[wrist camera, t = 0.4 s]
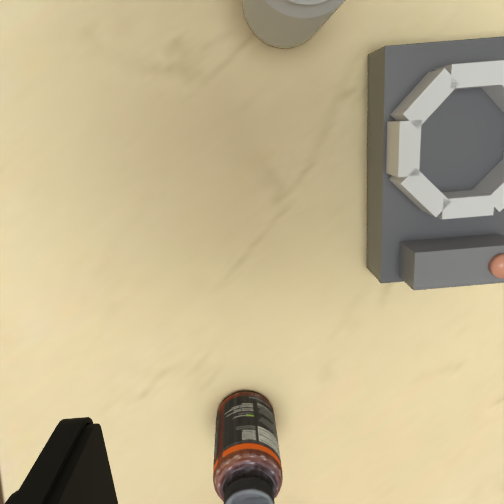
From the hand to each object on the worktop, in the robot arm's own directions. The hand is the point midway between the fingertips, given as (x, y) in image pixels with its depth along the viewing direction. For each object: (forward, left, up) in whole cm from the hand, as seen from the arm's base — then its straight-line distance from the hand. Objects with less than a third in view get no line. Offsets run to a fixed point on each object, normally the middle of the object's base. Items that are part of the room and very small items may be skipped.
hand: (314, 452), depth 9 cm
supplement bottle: (+22, -3, -29) cm, 36 cm away
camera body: (-2, +15, -28) cm, 32 cm away
